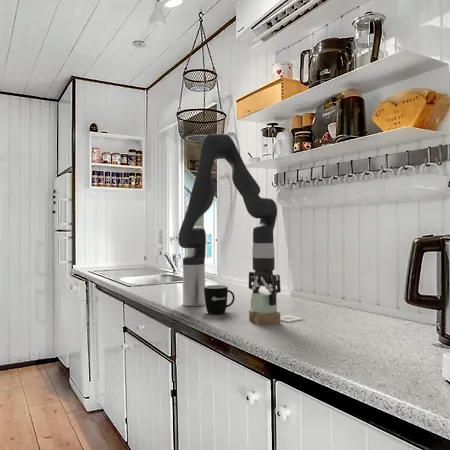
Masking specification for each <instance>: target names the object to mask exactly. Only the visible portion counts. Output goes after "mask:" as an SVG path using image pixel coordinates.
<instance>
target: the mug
mask: <svg viewBox="0 0 450 450" xmlns="http://www.w3.org/2000/svg"><path fill="white" fill-rule="evenodd" d="M228 287H229V286H228V285H224V284H223V285H222V284H212V285H211V284H209V285H205V287H204V296H205V305H204V306H205V310H206V311H207V312H206V313H207V314H209V315H213V316H217V315H218V316H219V315H223V314H226V310H227V308H229V307H230V306H232V305H233V304H234V302H235V299H236V298H235V294H234V292H233V291H232V290H230V289H229V288H228ZM228 293H230V294H231V296H232V299H231V302H230V303H228Z"/></svg>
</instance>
